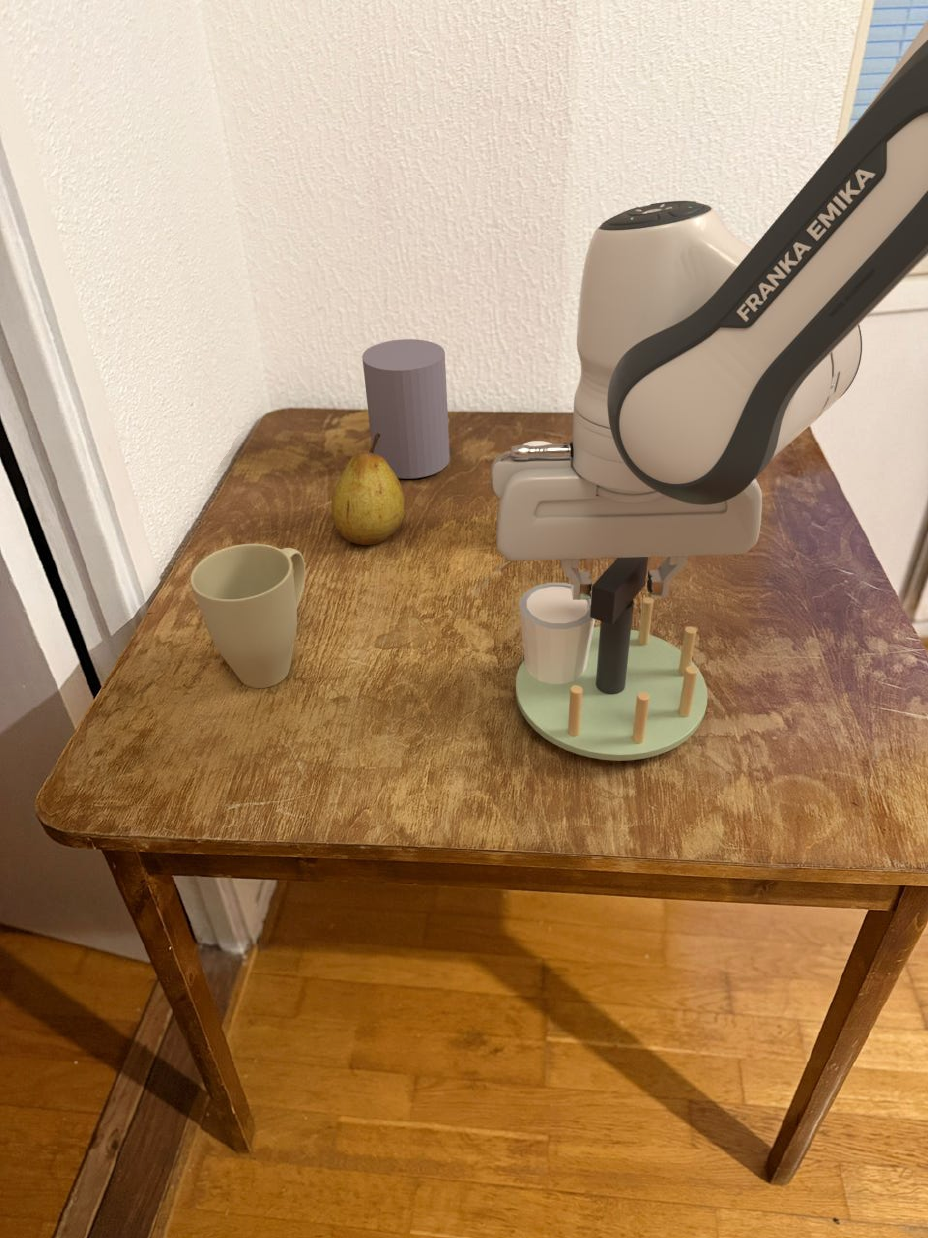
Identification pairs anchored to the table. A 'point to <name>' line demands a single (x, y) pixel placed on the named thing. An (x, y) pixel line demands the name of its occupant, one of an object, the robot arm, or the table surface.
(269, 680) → the mug
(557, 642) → the white cup
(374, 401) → the container
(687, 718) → the rack
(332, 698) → the table surface
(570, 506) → the robot arm
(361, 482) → the fruit
